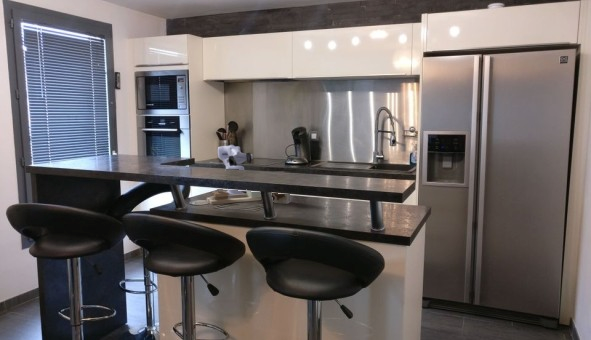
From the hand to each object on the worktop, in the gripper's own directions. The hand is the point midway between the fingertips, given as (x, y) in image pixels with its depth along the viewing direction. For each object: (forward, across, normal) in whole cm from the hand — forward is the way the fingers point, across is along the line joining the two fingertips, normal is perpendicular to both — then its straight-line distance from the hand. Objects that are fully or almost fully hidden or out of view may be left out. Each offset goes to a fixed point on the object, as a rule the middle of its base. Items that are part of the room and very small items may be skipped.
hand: (243, 162), depth 238 cm
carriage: (+2, -15, +17) cm, 22 cm away
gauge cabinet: (0, +5, +20) cm, 20 cm away
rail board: (+1, -6, +20) cm, 21 cm away
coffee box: (+13, +15, +21) cm, 29 cm away
